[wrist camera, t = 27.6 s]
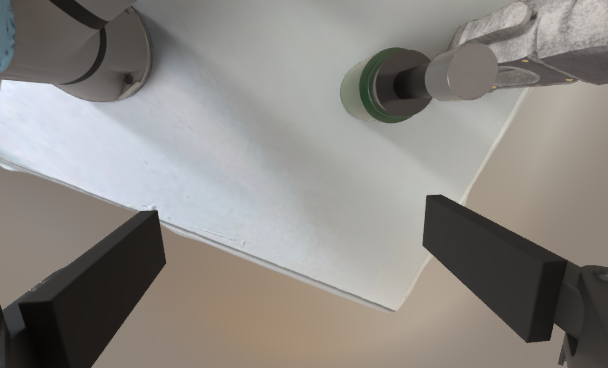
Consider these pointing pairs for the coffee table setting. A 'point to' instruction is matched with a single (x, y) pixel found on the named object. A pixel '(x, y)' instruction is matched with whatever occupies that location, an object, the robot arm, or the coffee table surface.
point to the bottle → (381, 87)
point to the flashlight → (450, 75)
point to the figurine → (543, 42)
